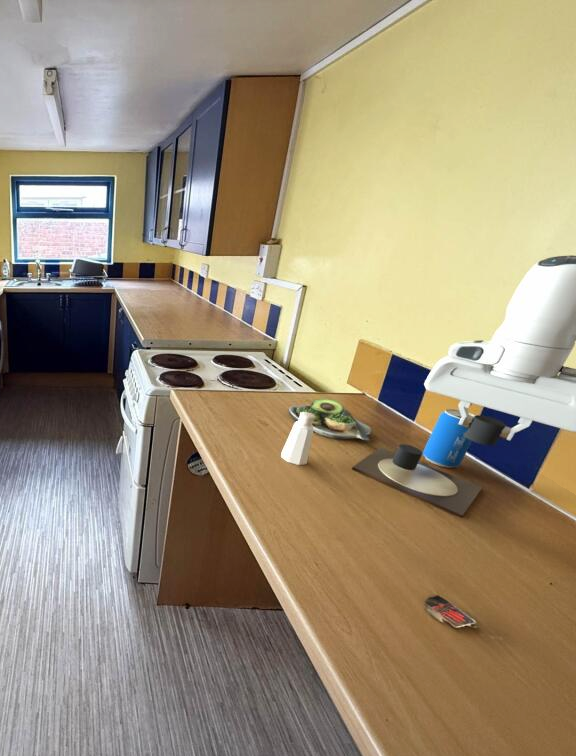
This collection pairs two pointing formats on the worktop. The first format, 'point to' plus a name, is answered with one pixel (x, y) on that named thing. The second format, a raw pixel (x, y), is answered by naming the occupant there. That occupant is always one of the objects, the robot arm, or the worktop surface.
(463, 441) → the beverage can
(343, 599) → the worktop surface
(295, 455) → the pepper shaker
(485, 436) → the dot right
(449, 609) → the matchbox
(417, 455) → the dot left
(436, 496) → the board
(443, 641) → the worktop surface
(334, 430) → the salad plate
